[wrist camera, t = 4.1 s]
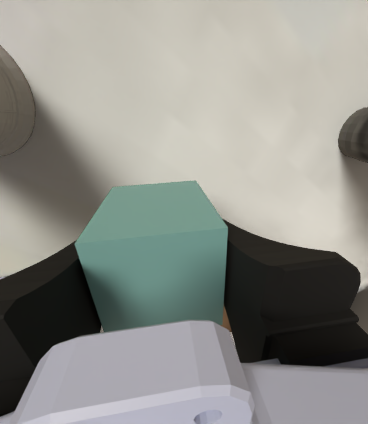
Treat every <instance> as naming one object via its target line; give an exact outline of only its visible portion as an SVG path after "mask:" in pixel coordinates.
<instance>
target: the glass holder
mask: <svg viewBox="0 0 368 424" xmlns="http://www.w3.org/2000/svg"><path fill="white" fill-rule="evenodd" d="M34 122H35V105H34V100H33V96H32V92H31V90H30V87H29V85H28V82H27V80H26V78H25V77H24V75H23V73H22V71H21V69H20V68H19V67H18V65H17V64H16V62H15V61H14V60H13V58H12V57H11V56H10V55H9V54H8V53H7V52H6V51H5V50H4V48H3V47H2V46H1V45H0V156H5V155H8V154H10V153H13V152H15V151H16V150H18V149H20V148H21V147H22V146H23V145H24V144H25V143H26V142H27V140H28V139H29V137H30V135H31V133H32V130H33V127H34Z"/></svg>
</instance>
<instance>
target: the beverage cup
mask: <svg viewBox="0 0 368 424" xmlns="http://www.w3.org/2000/svg"><path fill="white" fill-rule="evenodd" d="M338 143H339V148H340V150H341V152H342V153H343V154H344V155H345V156H349V157H352V158H355V159H358V160H360V161H363V162H366V163H368V107H367V108H362V109H360V110H358V111H356V112H355V113H354V114H352V115H351V116H350V117H349V118H348V120H347V121H346V122H345V123H344V125H343V127H342V129H341V131H340V134H339V139H338Z"/></svg>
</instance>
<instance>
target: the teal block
mask: <svg viewBox="0 0 368 424" xmlns="http://www.w3.org/2000/svg"><path fill="white" fill-rule="evenodd" d="M227 237H228V227H227V225H226V224H225V223H224V221H223V220H222V218H221V217H220V215H219V214H218V212H217V211H216V209H215V208H214V206H213V205H212V204H211V202H210V201H209V199H208V198H207V196H206V195H205V193H204V192H203V190H202V189H201V187H200V186H199V184H198V183H197V182H196V181H183V182H171V183H158V184H146V185H133V186H120V187H112V189H111V190H110V192H109V193H108V195H107V196H106V198H105V199H104V201H103V202H102V204H101V205H100V207H99V208H98V210H97V211H96V213H95V214H94V216H93V217H92V219H91V220H90V222H89V223H88V225H87V226H86V228H85V229H84V230H83V232H82V233H81V235H80V236H79V238H78V239H77V241H76V242H75V247H76V250H77V253H78V256H79V259H80V262H81V265H82V268H83V271H84V274H85V277H86V280H87V283H88V286H89V289H90V292H91V295H92V298H93V301H94V304H95V307H96V310H97V313H98V316H99V319H100V322H101V325H102V328H103V330H104V332H110V331H117V330H123V329H130V328H137V327H143V326H150V325H156V324H163V323H170V322H176V321H183V320H210V321H213V322H215V323H217V324H218V325H222V323H223V306H224V288H225V271H226V254H227Z"/></svg>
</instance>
